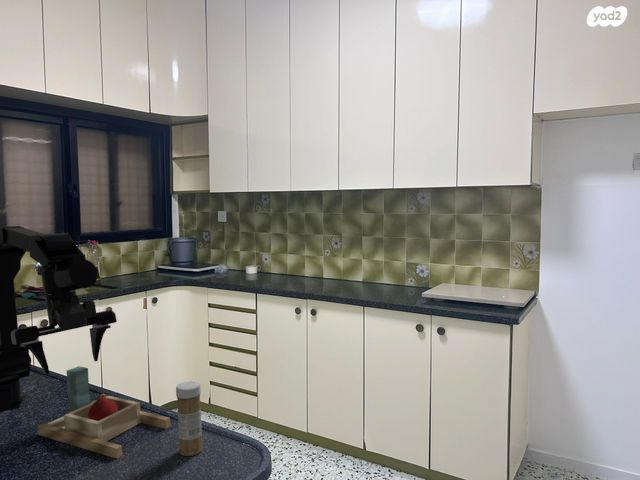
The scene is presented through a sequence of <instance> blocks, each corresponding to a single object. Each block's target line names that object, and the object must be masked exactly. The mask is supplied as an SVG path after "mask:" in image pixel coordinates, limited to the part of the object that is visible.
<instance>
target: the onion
mask: <svg viewBox="0 0 640 480" xmlns="http://www.w3.org/2000/svg"><path fill="white" fill-rule="evenodd" d="M106 396H107V394H106V393H101V394H100V396H99V398H98V399H97V400H96V401H95V402H94V404H93V405H92V406H91V408H90V410H89V413H88V418H89V419H92V420H95V421H100V420H102V419H104V418H106V417H108V416H110V415H112V414H114V413H116V412H118V407H117V405H116V404H115V403H114V402H113V401H112V400H111V399H108V398H106Z"/></svg>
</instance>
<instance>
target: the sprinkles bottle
mask: <svg viewBox="0 0 640 480" xmlns="http://www.w3.org/2000/svg"><path fill="white" fill-rule="evenodd" d="M175 394H176V395H175V396H176V399H177V425H178V426H177V427H178V437H179V440H178V441H179V448H178V451H179V454H180V455H182V456H184V457H185V456H186V457H192V456H195V455H198V454H200V453H201V452H202V450H203V449H204V448H203V447H204V445H203V436H202V435H203V434H202V432H203V430H202V411H201V409H202V408H201V384H200V382H199V381H197V380H196V381H195V380H189V381H183V382H180V383H179V384H177V385H176V387H175Z"/></svg>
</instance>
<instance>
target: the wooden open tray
mask: <svg viewBox="0 0 640 480" xmlns="http://www.w3.org/2000/svg"><path fill="white" fill-rule="evenodd" d="M89 379H90V377H89V368H88V367H85V366H79V365H78V366H76V367H73V368H69V369H67V370H66V383H67V400H68V402H67V403H68V413H66V414H63V416H61V417H59V418H57V419H55V420H52V421H50V422H48V423H46V424H47V425H51V426H54V427H58V428H61V429H65V430H68V431H72V432H75V433H79V434H82V435H86V436H89V437H93V438H97V439H100V440H104V441H107V442H109V441H110V440H111V439H113V438H116V437H117V436H119V435H121V434H123V433H124V432H127V431H129V430H130V429H132V428H133V427H135V426H137V425H138V424H142V423H141V413H140V411H141V402H138V401H133V400H130V399H125V398H120V397H115V396H112V395H106V398H108V399H111V400H112V401H113V402H114V403H115V404H116V405H117V407H118V412H116V413H114V414H112V415H110V416H108V417H106V418H104V419H102V420H100V421H95V420H92V419H89V418H88V413H89V410H90V408H91V406H92V405H93V404H94V402H93V403H90V402H91V399H90V383H89V382H90V381H89Z"/></svg>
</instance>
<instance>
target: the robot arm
mask: <svg viewBox="0 0 640 480" xmlns="http://www.w3.org/2000/svg"><path fill="white" fill-rule="evenodd" d="M27 252H29V257H30V258H31V259H32V260H33V261H35V262H37V263H39V264H40V265H41V267H39V269H38V270H37V275H38V276H41V281H42V282H41V283H42V288H43V293H44V298H45V306H46V312H47V317H48V325H46V326H41V327H38V325H29V326H25V327H21V328H20V327H19V323H18V322H19V321H18V314H17V313H18V312H17V303H16V301H17V300H16V288H15V279H16V277H17V276H18V274H19V272H20V271H21V268H22V266H21V265H22V264H21V263H22V260H23V258H24V256H25V254H26V253H27ZM98 277H99V271H98V269H97V268H96V265H95V264H94V263H93V262H91V261H90V260H88V259H87V258H86V254H85V253H84V252H83V251H82V250H81V249H80V248H79V246H78V245H77V243H76V241H74V239H73V238H72V236H71V235H70V234H69V233H50V234H49V233H48V234H47V233H46V234H45V233H42V232H38V231H35V230H32V229H27V228H25V227H24V226H21V225H14V226H13V225H12V226H11V225H9V226H1V227H0V411H1V410H6V409H9V410H10V409H17V408H20V407H21V406H22V404H23V403H24V402H25V401H26V399H27V398H28V396H27V395H25V394H24V395H22V382H21V381H22V379H23V378H25V377H26V378H27V377H30V372H31V367H32V357H31V355H30V352H31V354H32V355H33V356H34V357H35V359H36V360H37V362H38V364H39V365H40V367H41V369H42V370H43V372H44V373H45V375H47V376H48V375H50V369H49V368H50V367H49V365H48V361H47V358H46V357H47V356H46V354H45V351H44V345H43V340H40V338H39V337H43V336H47V335H52V334H56V333H57V334H58V333H61V332H66V331H70V330H75V329H80V328H85V327H89V326H92V327H90V328H89V337H90V343H91V352H92V357H93V362H98V361H99V360H98V359H99V355H100V349H101V346H102V345H101V344H102V340H103V338H104V334H105V332H106V331H107V330H108V329H110V328H111V327H112V325H111V324H115V323H117V322H118V320H117V316H116V312H115V311H113V310H111V309H110V310H103V311H99V312H98V311H97V307H96V303H95V300H93V299H91V300H90V299H89V300H85V301H82V303H80V301H79V297H78V294H77V291H78V290H83V289H88V288H90V287H92V286H94V285H95V284H96V283H97V280H98Z"/></svg>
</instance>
